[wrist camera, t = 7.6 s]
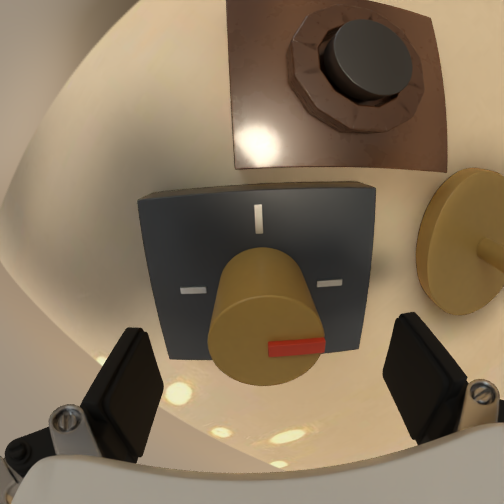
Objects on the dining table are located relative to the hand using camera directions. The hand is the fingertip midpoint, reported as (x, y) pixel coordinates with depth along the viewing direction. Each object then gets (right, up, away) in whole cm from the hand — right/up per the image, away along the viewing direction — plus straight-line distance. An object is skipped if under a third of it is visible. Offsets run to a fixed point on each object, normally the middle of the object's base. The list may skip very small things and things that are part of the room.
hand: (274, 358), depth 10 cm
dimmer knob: (0, +2, +5) cm, 5 cm away
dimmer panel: (0, +3, +7) cm, 8 cm away
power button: (+4, +12, 0) cm, 13 cm away
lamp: (+16, +5, +7) cm, 18 cm away
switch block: (+4, +13, +4) cm, 15 cm away
